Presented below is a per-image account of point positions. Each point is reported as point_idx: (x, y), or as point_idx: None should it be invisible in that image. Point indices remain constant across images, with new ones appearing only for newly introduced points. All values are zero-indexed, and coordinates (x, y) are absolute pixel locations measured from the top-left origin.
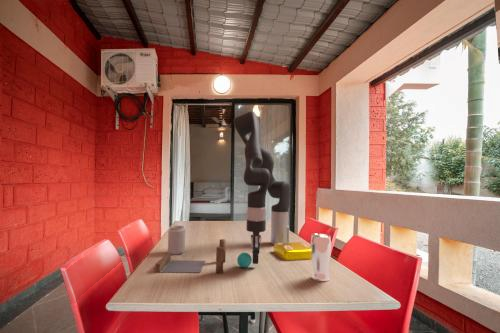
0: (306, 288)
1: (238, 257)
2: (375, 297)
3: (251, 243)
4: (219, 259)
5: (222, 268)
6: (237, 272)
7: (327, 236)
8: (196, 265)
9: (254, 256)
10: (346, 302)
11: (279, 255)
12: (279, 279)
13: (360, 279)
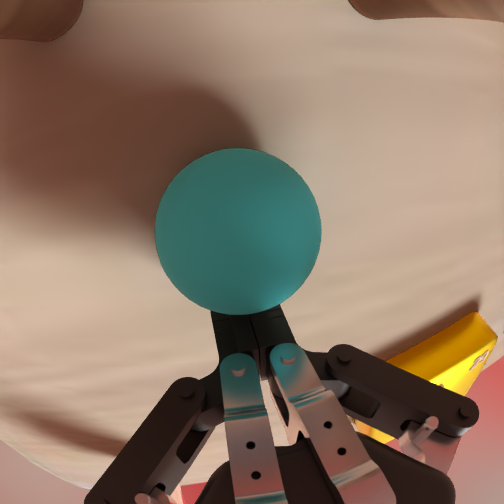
0: (46, 432)
1: (206, 184)
2: (83, 483)
3: (271, 454)
4: None
5: (20, 39)
6: (80, 164)
7: None
8: None
9: (219, 351)
10: (27, 458)
11: (416, 350)
12: (74, 388)
13: None
